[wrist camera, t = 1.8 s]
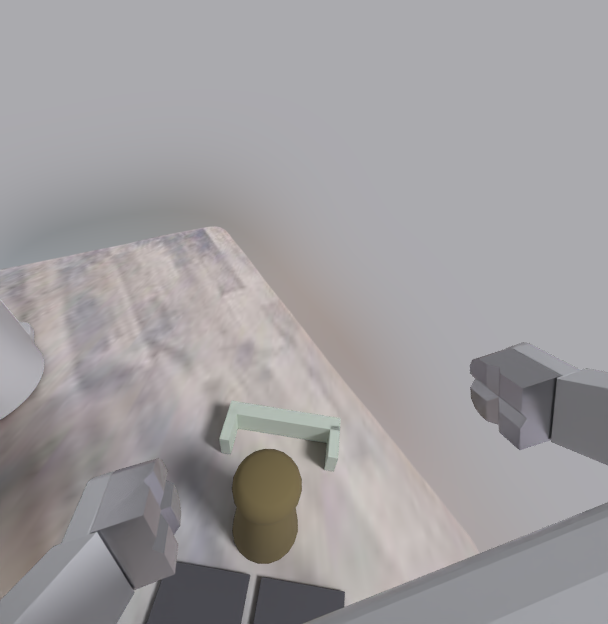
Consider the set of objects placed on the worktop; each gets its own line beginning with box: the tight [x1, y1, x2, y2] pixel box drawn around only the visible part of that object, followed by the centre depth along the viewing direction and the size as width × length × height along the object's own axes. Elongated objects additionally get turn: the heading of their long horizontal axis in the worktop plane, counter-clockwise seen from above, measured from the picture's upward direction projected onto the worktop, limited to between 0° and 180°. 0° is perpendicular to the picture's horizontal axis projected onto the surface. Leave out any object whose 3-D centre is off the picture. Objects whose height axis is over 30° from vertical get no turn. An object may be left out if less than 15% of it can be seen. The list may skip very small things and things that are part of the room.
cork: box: [232, 449, 302, 564], centre depth 30 cm, size 6×6×11 cm
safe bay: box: [219, 401, 340, 471], centre depth 38 cm, size 12×4×3 cm, turn 83°
